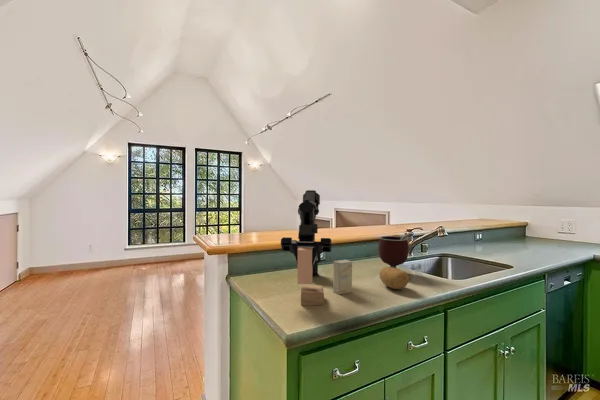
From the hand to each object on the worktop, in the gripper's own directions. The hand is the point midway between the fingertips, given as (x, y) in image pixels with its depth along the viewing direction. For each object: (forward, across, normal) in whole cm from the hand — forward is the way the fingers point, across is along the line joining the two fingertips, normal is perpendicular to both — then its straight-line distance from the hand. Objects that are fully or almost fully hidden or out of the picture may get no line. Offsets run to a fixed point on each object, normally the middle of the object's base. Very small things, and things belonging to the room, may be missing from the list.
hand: (305, 264), depth 101 cm
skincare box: (+1, +14, +18) cm, 23 cm away
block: (+4, 0, +6) cm, 7 cm away
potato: (-4, +35, +23) cm, 42 cm away
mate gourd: (-19, +41, +39) cm, 59 cm away
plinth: (+8, +2, +10) cm, 14 cm away
